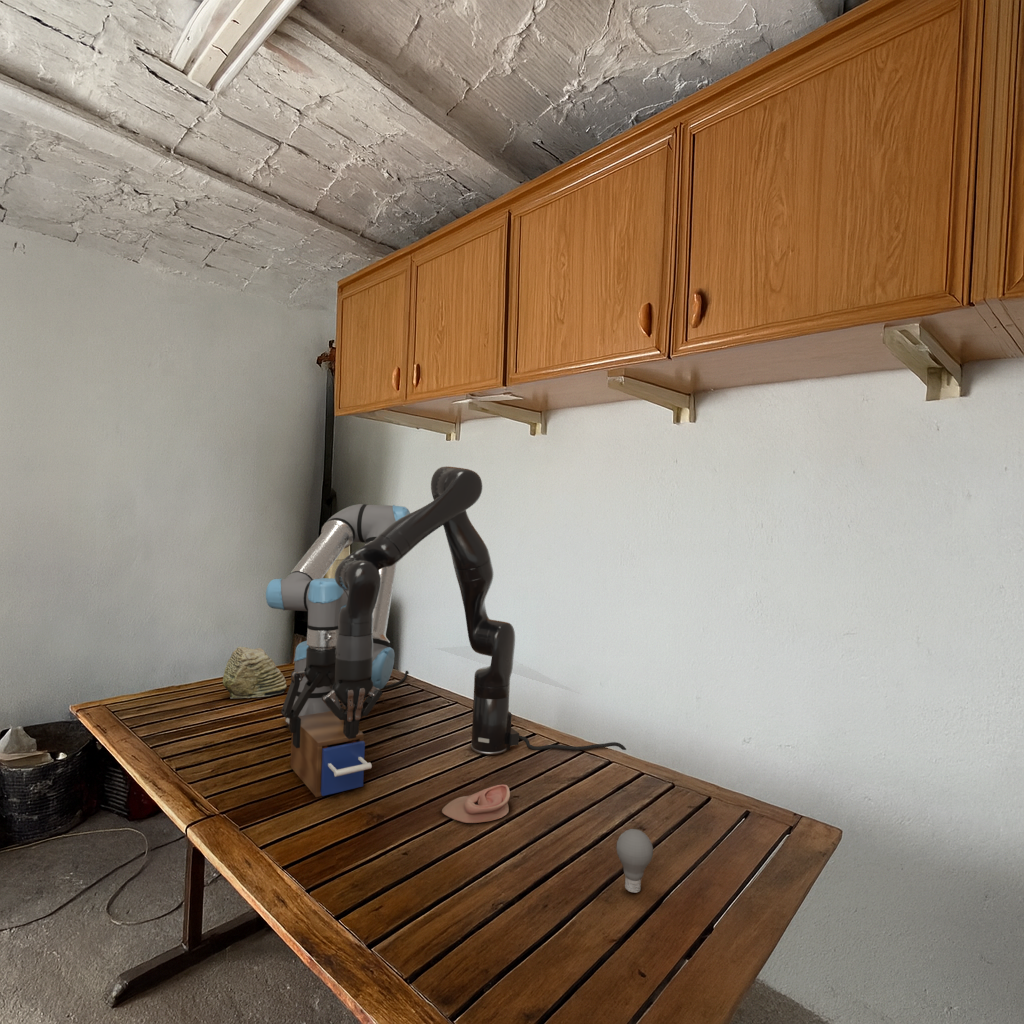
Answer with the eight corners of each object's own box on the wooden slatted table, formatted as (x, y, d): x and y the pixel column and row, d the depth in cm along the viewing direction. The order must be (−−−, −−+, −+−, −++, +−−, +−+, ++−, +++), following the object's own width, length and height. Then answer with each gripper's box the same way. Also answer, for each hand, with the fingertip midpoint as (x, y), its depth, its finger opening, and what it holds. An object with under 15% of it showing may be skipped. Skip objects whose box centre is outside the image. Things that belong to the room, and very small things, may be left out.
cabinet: (361, 786, 139) (363, 734, 139) (315, 797, 133) (318, 742, 133) (332, 757, 154) (334, 710, 153) (290, 766, 148) (292, 717, 147)
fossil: (218, 695, 195) (220, 647, 195) (278, 685, 208) (279, 640, 207) (228, 703, 189) (230, 653, 188) (289, 692, 201) (290, 645, 201)
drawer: (373, 796, 133) (375, 750, 133) (331, 807, 128) (333, 759, 127) (335, 759, 151) (337, 719, 150) (297, 767, 145) (299, 725, 145)
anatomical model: (437, 799, 126) (454, 775, 137) (436, 818, 126) (453, 793, 138) (502, 808, 124) (514, 783, 135) (501, 828, 124) (513, 801, 135)
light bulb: (610, 879, 108) (613, 822, 108) (644, 879, 109) (647, 822, 109) (619, 902, 102) (622, 840, 102) (655, 901, 103) (658, 840, 103)
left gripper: (277, 655, 137) (274, 757, 137) (376, 644, 150) (372, 737, 150) (268, 647, 143) (264, 745, 143) (363, 638, 156) (360, 727, 156)
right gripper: (329, 662, 125) (326, 749, 125) (391, 655, 133) (387, 737, 133) (316, 654, 131) (313, 737, 131) (376, 647, 139) (373, 726, 139)
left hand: (319, 741), depth 147 cm, fingers closed on cabinet, 10 cm apart
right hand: (350, 737), depth 132 cm, fingers closed
